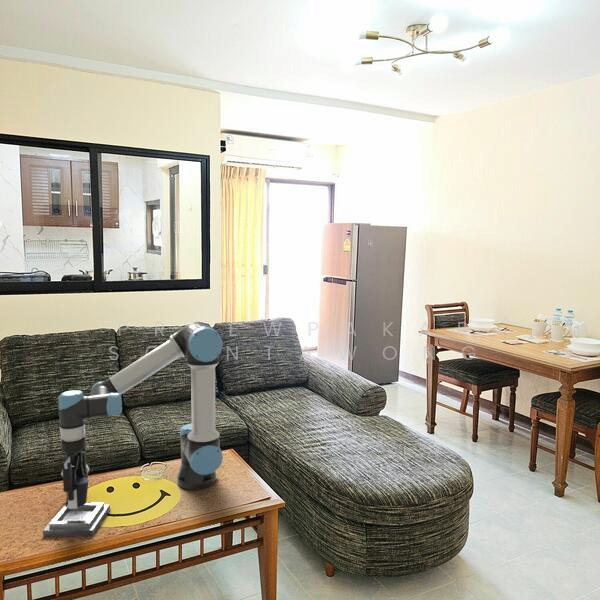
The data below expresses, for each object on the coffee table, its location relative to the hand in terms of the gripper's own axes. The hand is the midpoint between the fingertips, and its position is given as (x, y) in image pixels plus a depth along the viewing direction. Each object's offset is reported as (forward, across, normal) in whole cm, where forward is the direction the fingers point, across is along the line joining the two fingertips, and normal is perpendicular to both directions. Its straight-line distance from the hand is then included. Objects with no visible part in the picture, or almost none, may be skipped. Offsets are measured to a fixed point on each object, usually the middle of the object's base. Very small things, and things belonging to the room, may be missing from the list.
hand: (76, 502), depth 173 cm
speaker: (0, -1, 0) cm, 1 cm away
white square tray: (+7, 0, 0) cm, 7 cm away
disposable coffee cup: (+7, -16, -7) cm, 19 cm away
